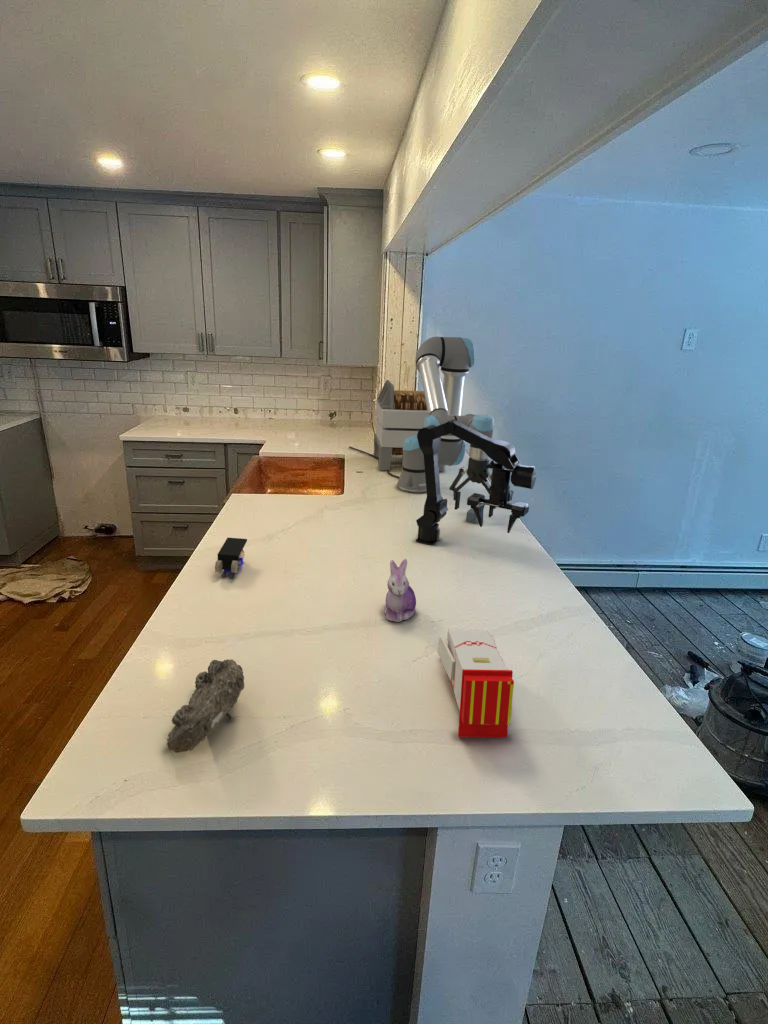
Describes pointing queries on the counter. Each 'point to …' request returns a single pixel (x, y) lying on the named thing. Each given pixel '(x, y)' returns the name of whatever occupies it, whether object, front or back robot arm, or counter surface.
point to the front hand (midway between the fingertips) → (494, 529)
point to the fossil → (206, 705)
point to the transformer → (397, 422)
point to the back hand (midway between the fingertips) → (473, 512)
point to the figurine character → (230, 556)
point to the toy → (478, 682)
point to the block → (471, 517)
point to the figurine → (399, 594)
